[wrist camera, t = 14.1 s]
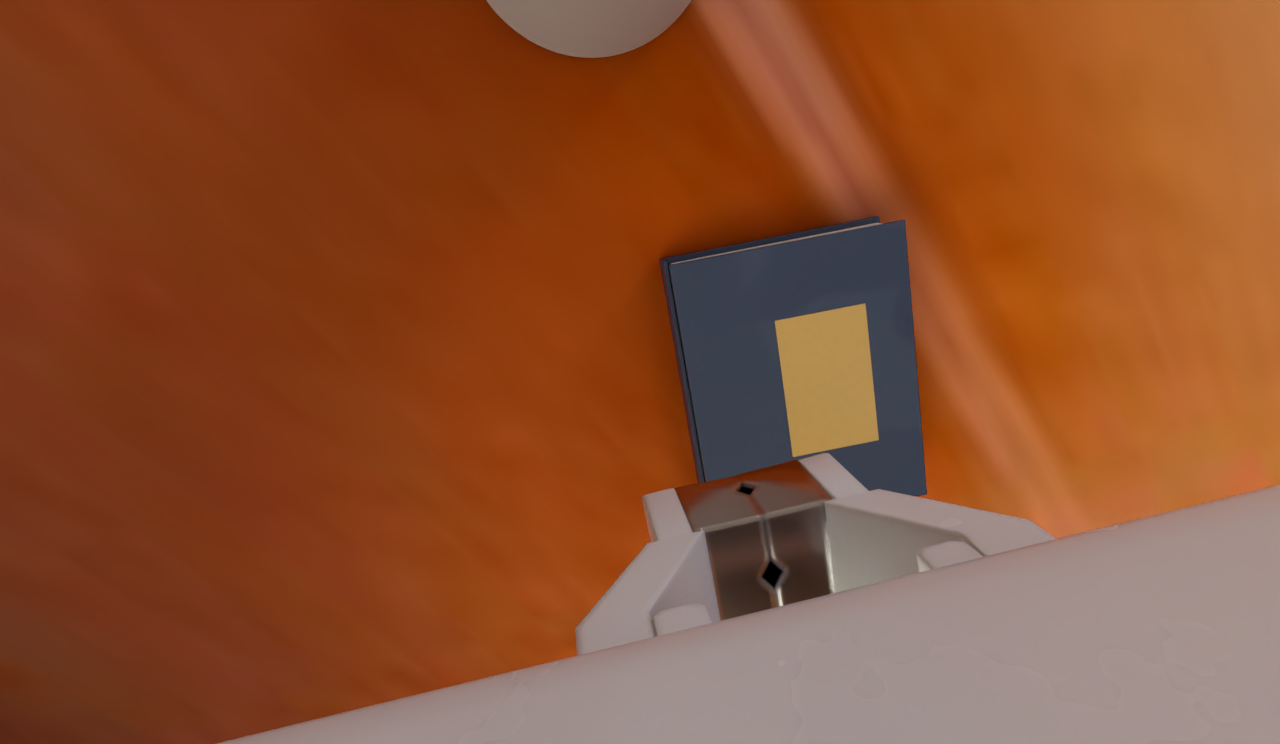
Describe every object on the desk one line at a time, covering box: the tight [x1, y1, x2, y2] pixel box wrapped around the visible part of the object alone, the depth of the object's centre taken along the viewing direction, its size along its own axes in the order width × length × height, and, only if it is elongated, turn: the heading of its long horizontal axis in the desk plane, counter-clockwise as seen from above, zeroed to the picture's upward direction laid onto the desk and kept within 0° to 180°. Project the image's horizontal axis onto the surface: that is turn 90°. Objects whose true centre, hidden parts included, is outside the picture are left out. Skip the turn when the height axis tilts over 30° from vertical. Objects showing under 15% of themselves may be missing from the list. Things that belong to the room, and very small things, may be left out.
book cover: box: [669, 220, 927, 496], centre depth 41 cm, size 13×16×2 cm
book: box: [659, 217, 884, 483], centre depth 43 cm, size 13×16×2 cm
